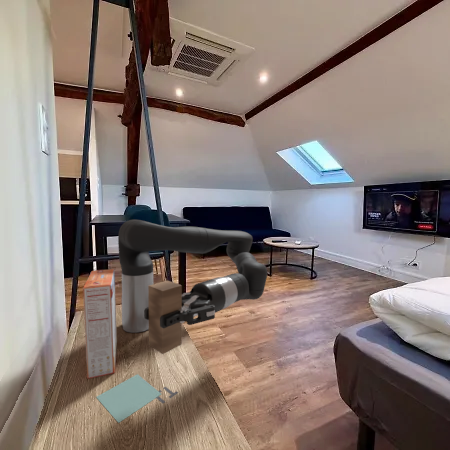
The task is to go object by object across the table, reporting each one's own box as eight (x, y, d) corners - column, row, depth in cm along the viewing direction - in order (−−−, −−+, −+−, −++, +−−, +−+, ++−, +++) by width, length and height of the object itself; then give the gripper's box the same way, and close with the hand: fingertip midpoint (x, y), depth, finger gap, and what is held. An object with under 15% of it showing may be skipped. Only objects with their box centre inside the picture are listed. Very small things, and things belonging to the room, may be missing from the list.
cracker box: (93, 346, 68) (90, 269, 66) (117, 342, 70) (115, 268, 68) (84, 380, 55) (81, 286, 53) (115, 374, 57) (112, 283, 55)
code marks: (152, 395, 51) (152, 394, 51) (168, 385, 54) (168, 384, 54) (162, 404, 49) (162, 403, 49) (178, 393, 52) (178, 392, 52)
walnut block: (148, 345, 50) (148, 285, 49) (167, 336, 53) (167, 280, 52) (162, 354, 47) (162, 290, 46) (181, 344, 50) (181, 285, 50)
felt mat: (96, 397, 50) (96, 396, 50) (137, 374, 57) (137, 374, 57) (118, 423, 44) (118, 422, 44) (161, 394, 51) (161, 393, 51)
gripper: (238, 319, 56) (177, 352, 43) (194, 302, 66) (132, 325, 53) (238, 286, 56) (177, 309, 43) (194, 273, 65) (132, 290, 52)
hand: (153, 318), depth 48 cm, fingers closed on walnut block, 4 cm apart
